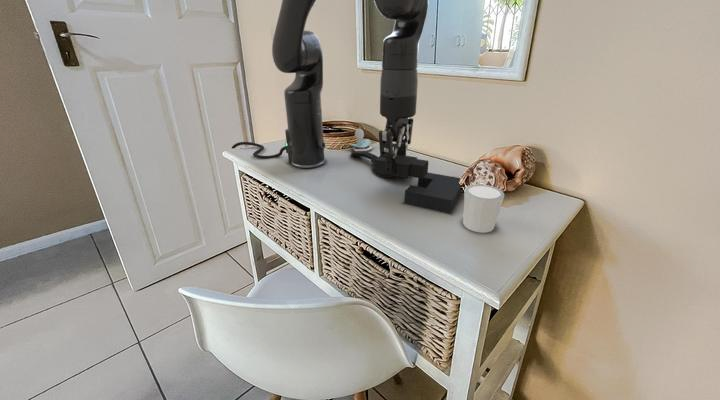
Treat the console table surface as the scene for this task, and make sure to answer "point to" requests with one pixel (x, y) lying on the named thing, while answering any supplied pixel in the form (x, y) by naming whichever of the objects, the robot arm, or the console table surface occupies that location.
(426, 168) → the pad
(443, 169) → the console table surface
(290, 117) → the robot arm
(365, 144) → the pacifier
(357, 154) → the hairbrush
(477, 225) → the white cylinder
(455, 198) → the notch pad
